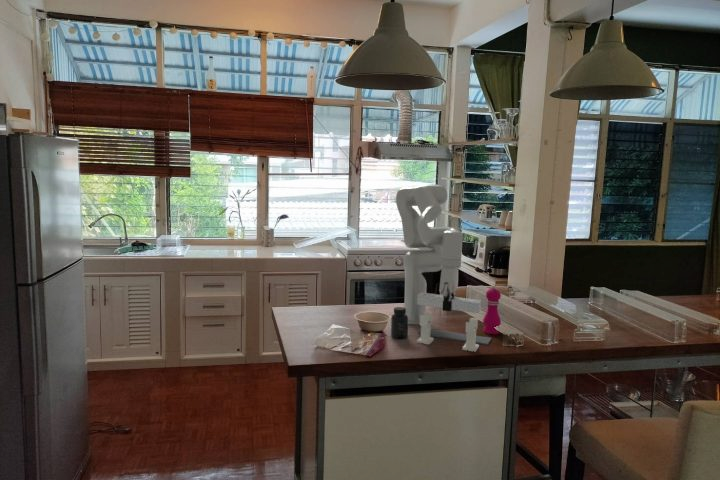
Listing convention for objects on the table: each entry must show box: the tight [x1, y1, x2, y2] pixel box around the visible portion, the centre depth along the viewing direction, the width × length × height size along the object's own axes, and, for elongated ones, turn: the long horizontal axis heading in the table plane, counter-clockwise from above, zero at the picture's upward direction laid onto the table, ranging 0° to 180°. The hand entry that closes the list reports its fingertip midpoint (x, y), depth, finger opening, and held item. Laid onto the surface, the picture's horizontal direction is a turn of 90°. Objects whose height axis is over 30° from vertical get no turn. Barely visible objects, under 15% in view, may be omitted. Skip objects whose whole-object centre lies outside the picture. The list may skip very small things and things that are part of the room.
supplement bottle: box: [390, 306, 409, 341], centre depth 219 cm, size 7×7×12 cm
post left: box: [416, 311, 435, 345], centre depth 214 cm, size 5×7×11 cm
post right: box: [461, 317, 480, 353], centre depth 207 cm, size 5×7×11 cm
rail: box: [417, 292, 482, 314], centre depth 210 cm, size 24×4×4 cm, turn 66°
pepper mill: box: [482, 284, 502, 335], centre depth 228 cm, size 7×7×20 cm
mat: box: [418, 328, 493, 346], centre depth 221 cm, size 28×8×1 cm, turn 66°
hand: (448, 308), depth 210 cm, fingers closed on rail, 4 cm apart
